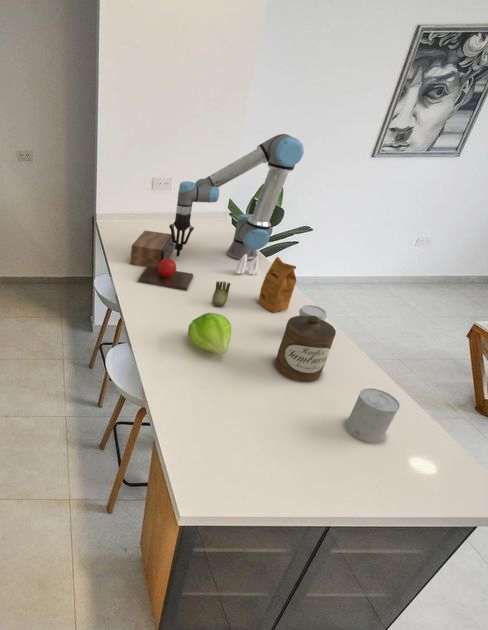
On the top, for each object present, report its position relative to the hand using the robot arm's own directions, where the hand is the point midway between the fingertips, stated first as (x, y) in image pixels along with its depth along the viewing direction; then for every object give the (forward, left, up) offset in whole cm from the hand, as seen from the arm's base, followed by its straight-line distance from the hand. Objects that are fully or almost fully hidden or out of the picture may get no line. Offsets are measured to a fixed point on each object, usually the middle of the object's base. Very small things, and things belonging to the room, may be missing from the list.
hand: (177, 255), depth 229 cm
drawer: (+12, 0, -3) cm, 12 cm away
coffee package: (-49, +31, -4) cm, 58 cm away
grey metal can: (-77, +100, -4) cm, 126 cm away
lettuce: (-28, +75, -4) cm, 80 cm away
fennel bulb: (-27, +40, -4) cm, 49 cm away
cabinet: (+15, 0, -4) cm, 15 cm away
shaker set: (-35, +1, -4) cm, 36 cm away
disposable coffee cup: (-62, +52, -4) cm, 81 cm away
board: (+1, +23, -4) cm, 23 cm away
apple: (+1, +23, -3) cm, 23 cm away
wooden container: (-59, +76, -4) cm, 96 cm away
